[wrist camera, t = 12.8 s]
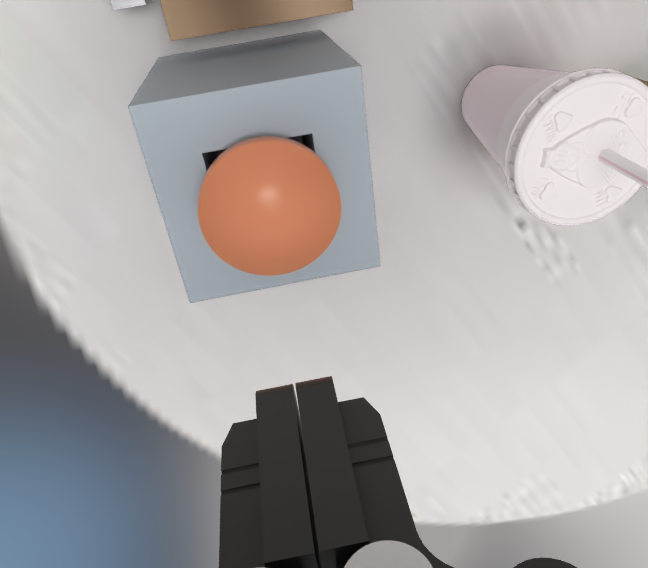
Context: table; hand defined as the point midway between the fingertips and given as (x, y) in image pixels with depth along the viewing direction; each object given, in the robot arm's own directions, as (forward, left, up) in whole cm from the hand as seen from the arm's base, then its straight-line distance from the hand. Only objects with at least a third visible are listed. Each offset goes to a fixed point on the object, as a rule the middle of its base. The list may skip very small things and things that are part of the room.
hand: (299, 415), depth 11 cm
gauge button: (0, 0, -17) cm, 17 cm away
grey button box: (0, 0, -22) cm, 22 cm away
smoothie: (-13, +1, -22) cm, 26 cm away
